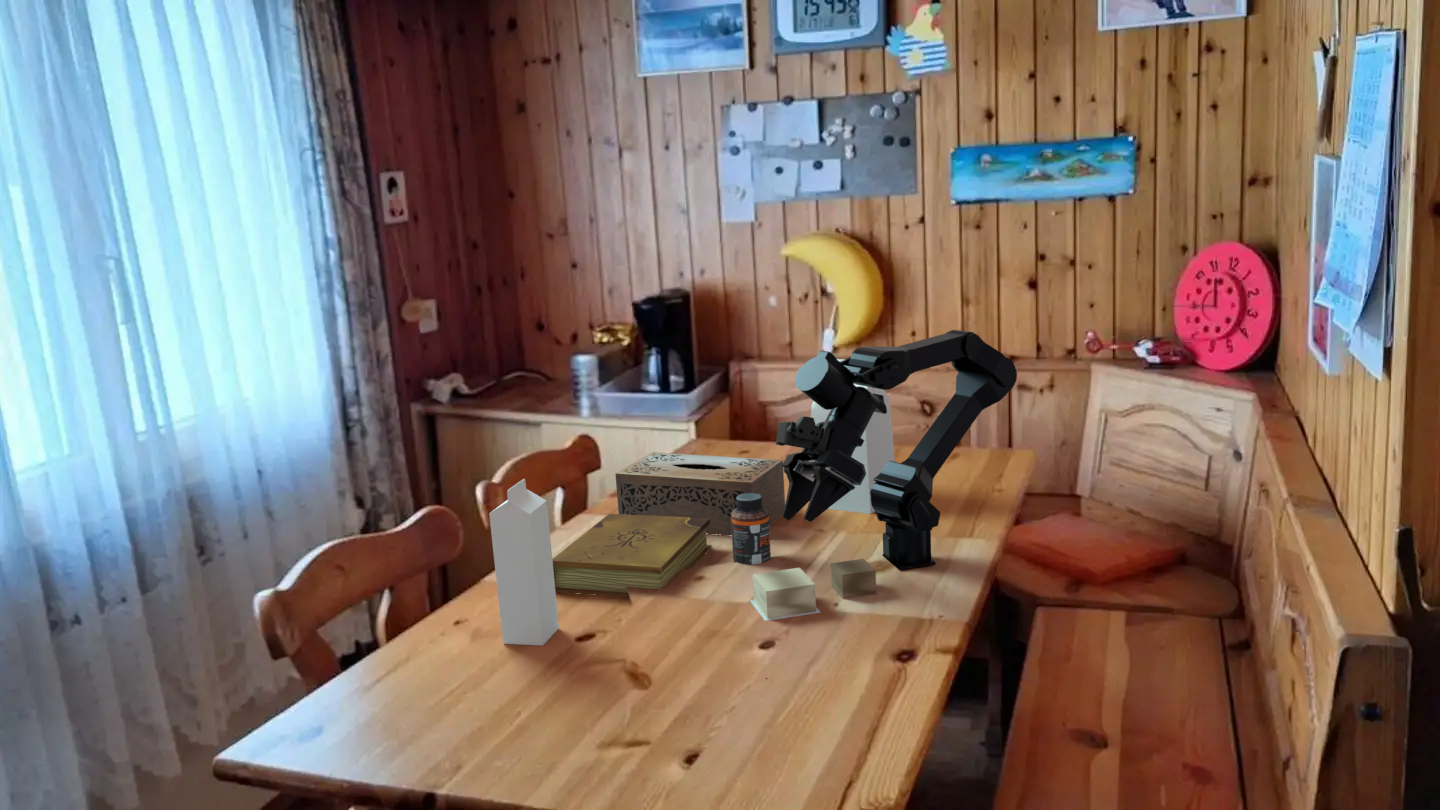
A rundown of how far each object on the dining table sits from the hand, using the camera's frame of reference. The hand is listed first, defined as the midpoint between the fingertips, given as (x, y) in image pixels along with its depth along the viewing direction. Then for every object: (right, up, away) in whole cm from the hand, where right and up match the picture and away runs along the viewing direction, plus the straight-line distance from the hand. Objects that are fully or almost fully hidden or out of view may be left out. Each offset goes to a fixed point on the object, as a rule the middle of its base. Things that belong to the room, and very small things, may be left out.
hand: (796, 519), depth 173 cm
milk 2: (+14, -1, +47) cm, 49 cm away
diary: (-25, -10, +20) cm, 33 cm away
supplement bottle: (-6, -9, +18) cm, 21 cm away
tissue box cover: (-14, -4, +42) cm, 44 cm away
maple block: (-2, -12, -3) cm, 12 cm away
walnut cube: (+8, -12, +2) cm, 14 cm away
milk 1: (-37, -16, -5) cm, 41 cm away
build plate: (-2, -13, -3) cm, 13 cm away
